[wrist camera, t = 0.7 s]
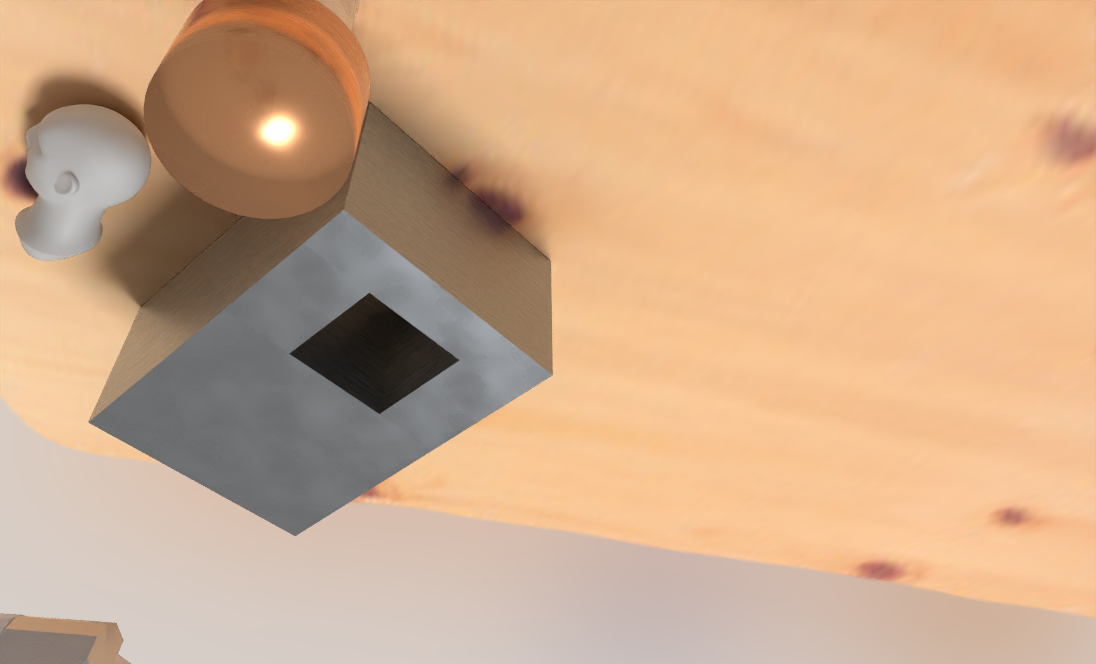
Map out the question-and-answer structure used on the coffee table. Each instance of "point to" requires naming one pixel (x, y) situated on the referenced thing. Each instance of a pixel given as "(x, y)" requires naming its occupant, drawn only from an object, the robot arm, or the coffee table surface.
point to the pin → (261, 104)
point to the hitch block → (335, 339)
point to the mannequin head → (78, 177)
